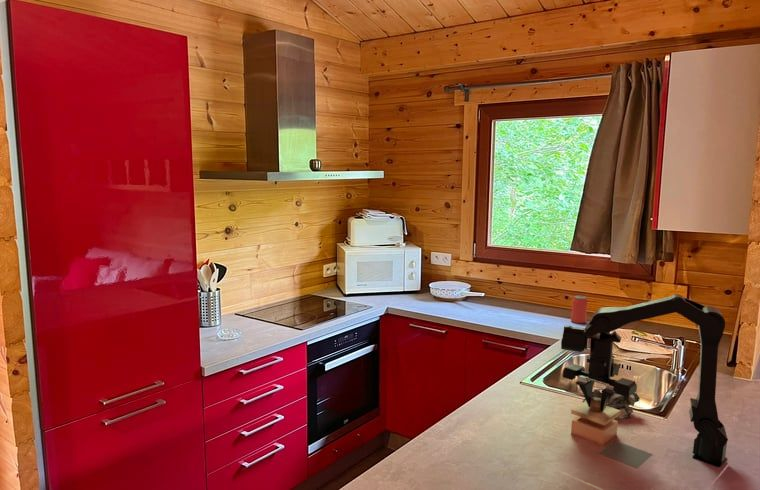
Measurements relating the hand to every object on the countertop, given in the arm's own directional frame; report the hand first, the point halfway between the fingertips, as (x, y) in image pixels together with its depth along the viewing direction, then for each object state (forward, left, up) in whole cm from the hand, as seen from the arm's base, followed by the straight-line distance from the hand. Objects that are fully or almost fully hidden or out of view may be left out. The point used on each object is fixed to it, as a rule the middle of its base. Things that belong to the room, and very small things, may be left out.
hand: (596, 408), depth 161 cm
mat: (-10, +4, -8) cm, 14 cm away
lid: (0, 0, -2) cm, 2 cm away
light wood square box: (0, 0, -8) cm, 8 cm away
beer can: (+56, -102, -8) cm, 116 cm away
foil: (+3, -17, -8) cm, 19 cm away
